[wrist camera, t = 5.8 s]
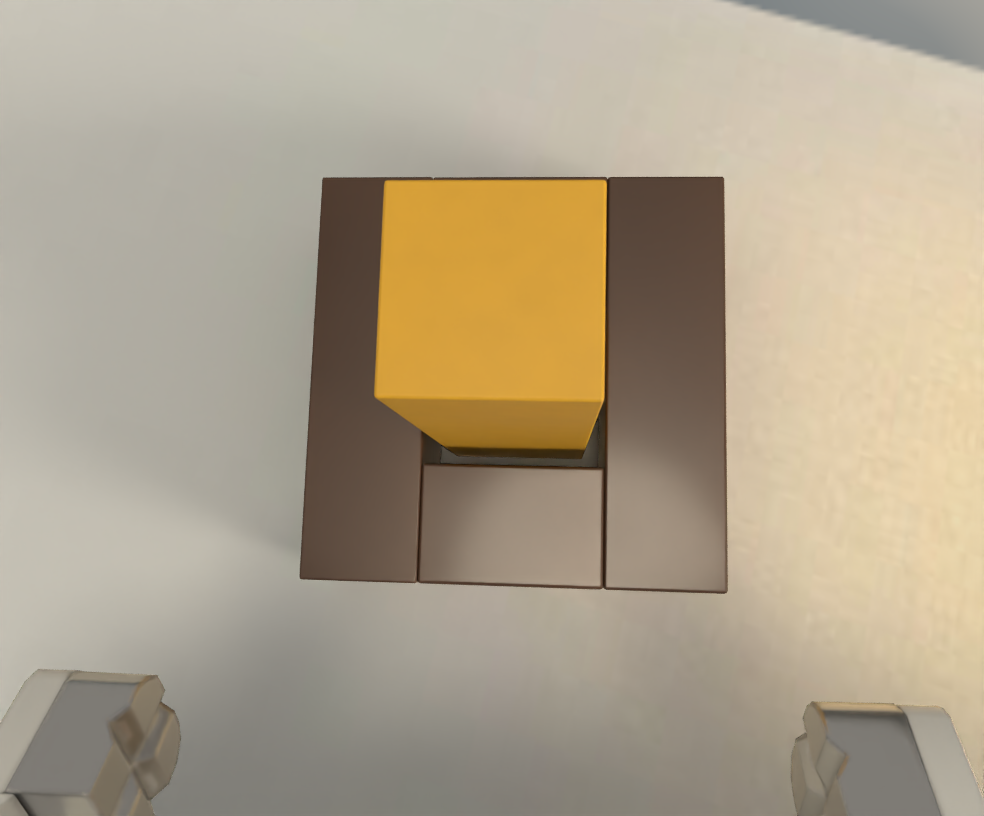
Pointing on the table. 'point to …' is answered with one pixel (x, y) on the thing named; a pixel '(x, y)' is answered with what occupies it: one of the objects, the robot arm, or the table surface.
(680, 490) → the stand
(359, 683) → the table surface
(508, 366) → the peg
